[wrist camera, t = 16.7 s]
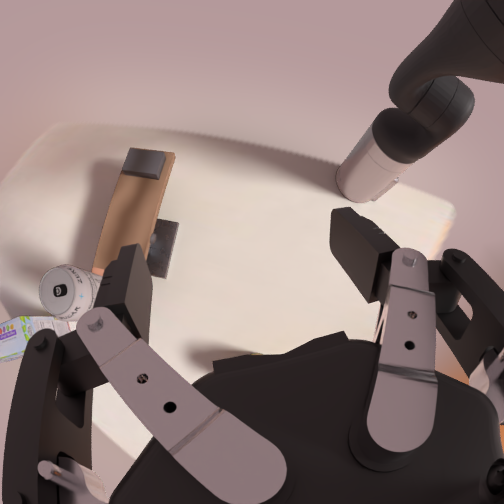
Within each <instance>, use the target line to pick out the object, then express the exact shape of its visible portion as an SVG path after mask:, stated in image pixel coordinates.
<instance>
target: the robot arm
mask: <svg viewBox="0 0 504 504" xmlns="http://www.w3.org/2000/svg"><path fill="white" fill-rule="evenodd" d="M456 76H462V77H468V78H473V79H479V80H485V81H490V82H496V83H503V84H504V0H454V1H453V2H452V4H451V6H450V7H449V8H448V10H447V11H446V13H445V14H444V16H443V17H442V19H441V20H440V21H439V23H438V24H437V25H436V27H435V28H434V29H433V30H432V32H431V33H430V34H429V35H428V36H427V37H426V38H425V39H424V40H423V41H422V42H421V43H420V44H419V45H418V46H417V47H416V48H415V49H414V50H413V51H412V52H411V53H410V54H409V55H408V56H407V57H406V58H405V60H404V61H403V62H402V63H401V64H400V66H399V67H398V68H397V70H396V71H395V73H394V74H393V77H392V79H391V81H390V85H389V97H390V99H391V101H392V102H393V103H394V104H395V105H396V106H397V107H398V108H387V109H385V110H383V111H381V112H380V113H379V115H378V116H377V117H376V118H375V120H374V121H373V123H372V124H371V125H370V127H369V128H368V130H367V131H366V133H365V134H364V135H363V136H362V138H361V139H360V140H359V142H358V143H357V145H356V146H355V147H354V149H353V150H352V151H351V153H350V154H349V155H348V157H347V158H346V159H345V161H344V162H343V163H342V164H341V166H340V167H339V169H338V171H337V174H336V182H337V185H338V188H339V190H340V191H341V192H342V194H343V195H344V196H345V197H347V198H348V199H349V200H351V201H353V202H357V203H365V202H368V201H370V200H374V201H376V200H377V199H378V198H380V197H381V196H382V195H383V194H384V193H386V192H387V191H388V190H389V189H391V188H392V187H393V186H394V185H395V184H397V183H398V176H400V175H401V174H402V173H403V172H404V171H405V170H407V169H408V168H409V167H410V166H411V165H412V164H413V163H415V162H416V161H417V160H418V159H420V158H422V157H424V156H426V155H427V154H428V153H429V152H430V151H432V150H433V149H434V148H435V147H437V146H438V145H439V144H441V143H442V142H444V141H445V140H446V139H448V138H449V137H450V136H452V135H453V134H454V133H455V132H456V131H458V130H459V129H460V128H461V127H462V126H463V125H464V123H465V122H466V121H467V120H468V118H469V116H470V115H471V113H472V110H473V107H474V103H475V99H474V94H473V92H472V91H471V90H470V88H468V86H466V85H465V84H464V83H463V82H462V81H461V80H459V79H458V78H457V77H456ZM330 249H331V252H332V254H333V255H334V257H335V258H336V260H337V261H338V262H339V264H340V265H341V266H342V268H343V269H344V270H345V272H346V273H347V274H348V276H349V277H350V279H351V280H352V281H353V283H354V284H355V286H356V287H357V288H358V290H359V291H360V293H361V294H362V295H363V297H364V298H365V300H366V301H367V303H368V304H369V303H372V302H375V301H380V303H381V304H380V307H379V312H378V317H377V322H376V327H375V332H374V337H373V342H371V341H366V340H358V339H348V337H347V336H346V334H345V332H344V331H341V332H337V333H334V334H330V335H327V336H323V337H319V338H316V339H313V340H311V341H309V342H307V343H305V344H303V345H301V346H299V347H297V348H295V349H293V350H291V351H289V352H287V353H285V354H279V355H243V356H238V357H233V358H228V359H222V360H217V361H213V368H214V371H213V372H211V373H208V374H206V375H205V376H203V377H201V378H200V379H198V380H197V381H195V382H194V383H193V384H192V385H191V384H189V383H188V382H187V381H186V380H185V379H184V378H183V377H182V376H180V375H179V374H178V373H177V372H176V371H175V370H174V369H173V368H172V367H171V366H169V365H168V364H167V363H166V362H165V361H164V360H163V359H162V358H161V357H160V356H159V355H158V354H157V353H156V352H155V351H154V350H153V349H152V348H151V347H150V346H149V345H148V344H149V327H150V313H151V301H152V290H153V285H152V278H151V274H150V271H149V268H148V266H147V263H146V260H145V257H144V254H143V251H142V248H141V245H140V244H139V243H136V244H131V245H126V246H122V247H121V249H120V252H119V255H118V258H117V260H113V261H111V262H110V264H109V265H108V266H107V267H106V268H105V270H104V273H103V276H102V279H101V283H100V287H99V289H98V292H97V296H96V299H95V302H94V306H93V309H91V310H89V311H87V312H86V313H84V314H83V315H82V316H81V317H80V319H79V320H78V322H77V325H76V330H74V331H72V332H69V333H67V334H65V335H62V336H60V337H58V335H57V334H56V332H55V331H54V330H52V329H50V328H45V329H41V330H39V331H37V332H36V333H35V334H34V335H32V337H31V338H30V339H29V341H28V342H27V345H26V348H25V352H24V355H23V359H22V362H21V366H20V369H19V373H18V377H17V381H16V385H15V390H14V394H13V399H12V404H11V409H10V414H9V420H8V427H7V433H6V441H5V450H4V461H3V478H2V501H3V504H504V453H503V449H502V444H501V437H500V426H499V425H504V291H503V290H502V289H501V288H500V287H499V286H498V285H497V284H496V283H495V282H494V280H492V279H491V277H490V276H489V275H488V274H487V273H486V272H485V271H484V270H483V269H482V268H481V267H480V266H479V265H478V264H477V263H476V262H475V261H474V260H473V259H472V258H471V257H470V256H469V255H467V254H466V253H465V252H462V251H460V250H457V249H447V250H445V251H444V253H443V256H442V259H441V260H427V259H426V257H425V256H424V255H423V254H422V253H420V252H419V251H417V250H414V249H411V248H400V247H399V246H398V245H397V244H396V243H395V242H394V241H393V240H392V239H391V238H390V237H389V236H388V235H387V234H386V233H385V234H384V232H383V231H382V230H381V229H380V228H379V227H378V226H377V225H376V224H375V223H374V222H373V221H371V220H369V219H367V218H365V217H363V216H360V215H359V214H357V213H356V212H355V211H354V210H353V209H352V208H351V207H344V208H337V209H333V210H332V212H331V224H330ZM461 295H463V297H464V298H465V299H466V300H467V301H468V303H469V304H470V305H471V307H472V310H473V317H472V319H471V321H470V319H469V318H468V317H467V316H466V314H465V313H464V312H463V310H462V309H461V308H460V307H459V305H458V302H459V299H460V297H461ZM436 328H437V330H438V331H439V333H440V334H441V335H442V337H443V339H444V340H445V342H446V343H447V345H448V346H449V348H450V349H451V351H452V352H453V354H454V355H455V357H456V358H457V360H458V362H459V363H460V365H461V366H462V368H463V370H464V371H465V373H466V374H467V376H468V378H469V384H470V386H469V385H467V384H465V383H462V382H460V381H458V380H456V379H454V378H451V377H449V376H447V375H445V374H442V373H440V372H438V371H436V370H435V369H434V368H435V348H436V347H435V346H436ZM108 382H110V383H111V385H112V386H113V387H114V389H115V390H116V391H117V393H118V394H119V395H120V397H121V398H122V399H123V400H124V402H125V403H126V404H127V405H128V407H129V408H130V409H131V410H132V412H133V413H134V414H135V415H136V416H137V418H138V419H139V420H140V421H141V422H142V423H143V425H144V426H145V427H146V428H147V429H148V430H149V431H150V432H151V434H152V435H153V437H152V438H151V440H150V441H149V443H148V444H147V445H146V447H145V448H144V450H143V451H142V452H141V454H140V455H139V457H138V458H137V459H136V461H135V462H134V464H133V465H132V466H131V468H130V469H129V471H128V472H127V473H126V475H125V476H124V477H123V479H122V480H121V482H120V483H119V484H118V486H117V487H116V489H115V490H114V491H113V493H112V495H111V497H110V499H109V498H108V496H107V495H106V492H105V488H104V485H103V482H102V480H101V478H100V477H99V476H98V475H97V474H96V473H95V472H93V471H92V460H91V459H92V458H91V425H92V401H93V388H95V387H97V386H100V385H103V384H105V383H108ZM57 388H58V390H57ZM56 391H57V396H56Z"/></svg>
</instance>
